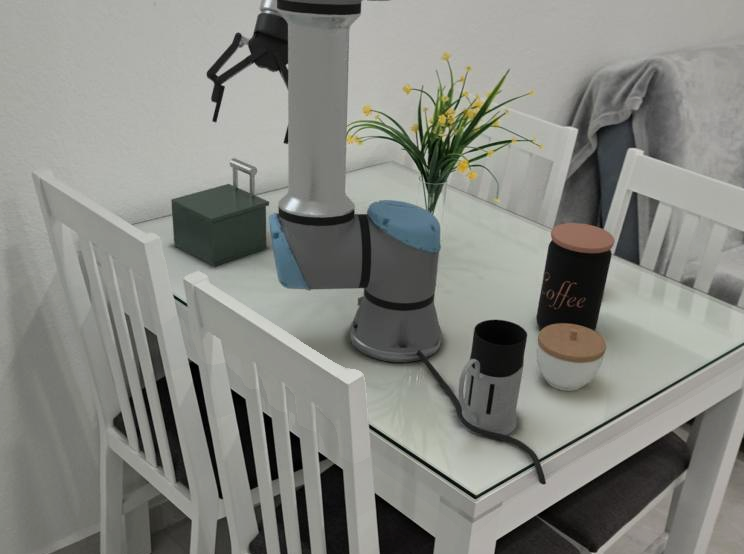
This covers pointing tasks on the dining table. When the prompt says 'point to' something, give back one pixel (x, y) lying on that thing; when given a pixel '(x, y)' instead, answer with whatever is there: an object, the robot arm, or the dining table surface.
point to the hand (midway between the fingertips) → (250, 132)
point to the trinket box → (569, 355)
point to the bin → (219, 235)
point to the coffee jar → (574, 275)
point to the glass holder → (493, 376)
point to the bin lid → (224, 197)
